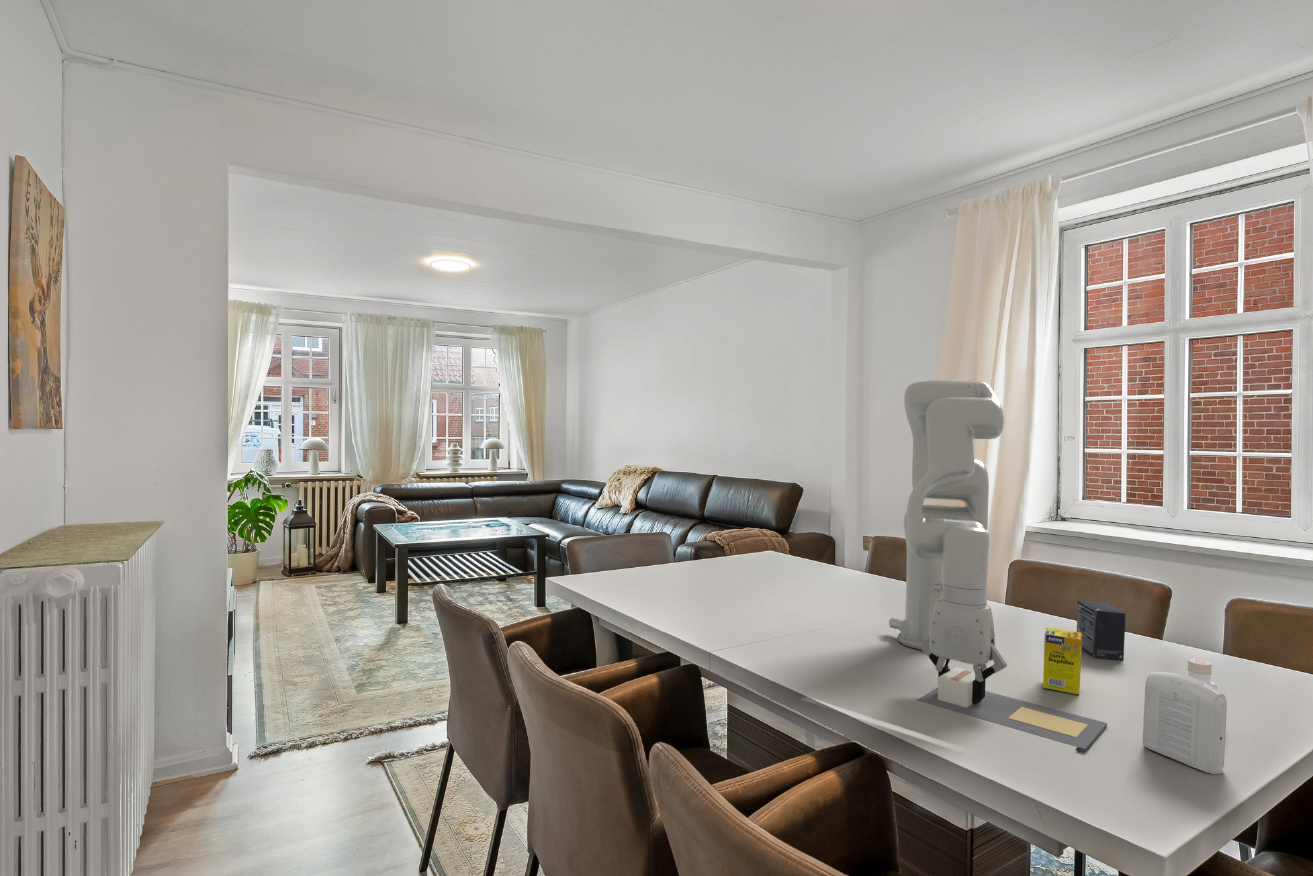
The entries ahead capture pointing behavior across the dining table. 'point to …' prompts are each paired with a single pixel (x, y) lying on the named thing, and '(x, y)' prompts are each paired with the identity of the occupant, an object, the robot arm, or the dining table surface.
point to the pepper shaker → (1200, 671)
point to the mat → (1029, 718)
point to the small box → (1101, 629)
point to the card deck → (956, 687)
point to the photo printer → (1185, 720)
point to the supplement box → (1062, 661)
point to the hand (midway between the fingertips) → (960, 696)
